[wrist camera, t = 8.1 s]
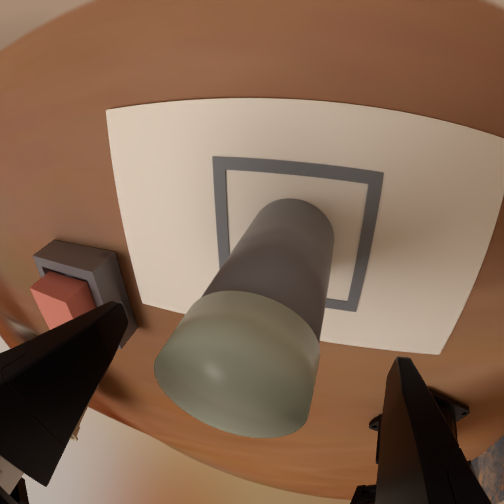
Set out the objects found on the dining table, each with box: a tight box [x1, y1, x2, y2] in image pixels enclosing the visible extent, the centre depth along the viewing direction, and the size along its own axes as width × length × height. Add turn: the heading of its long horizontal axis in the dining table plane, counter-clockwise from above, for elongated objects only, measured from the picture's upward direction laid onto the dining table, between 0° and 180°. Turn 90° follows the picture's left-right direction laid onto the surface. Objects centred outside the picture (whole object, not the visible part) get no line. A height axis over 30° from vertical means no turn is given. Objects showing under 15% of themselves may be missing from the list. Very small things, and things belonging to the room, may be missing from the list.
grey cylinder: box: [154, 198, 334, 438], centre depth 11 cm, size 4×4×9 cm
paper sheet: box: [106, 98, 504, 355], centre depth 15 cm, size 20×13×1 cm, turn 90°
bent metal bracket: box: [471, 436, 504, 504], centre depth 17 cm, size 11×3×10 cm, turn 178°
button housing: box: [33, 240, 138, 349], centre depth 21 cm, size 7×7×2 cm
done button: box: [30, 271, 97, 330], centre depth 19 cm, size 4×4×2 cm
